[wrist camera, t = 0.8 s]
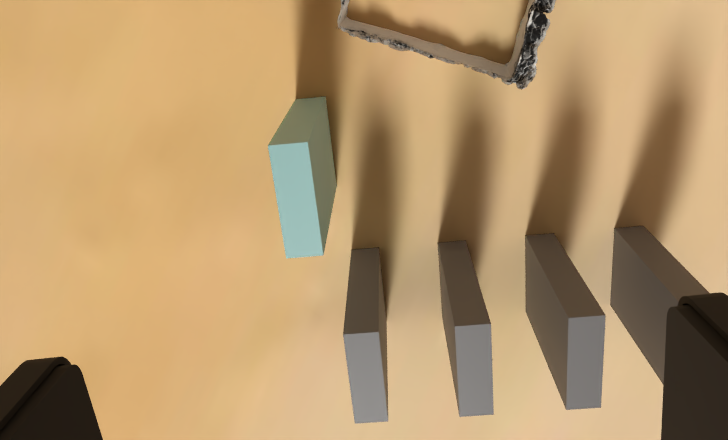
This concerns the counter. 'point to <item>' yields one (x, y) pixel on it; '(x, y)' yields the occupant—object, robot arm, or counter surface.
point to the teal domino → (304, 177)
